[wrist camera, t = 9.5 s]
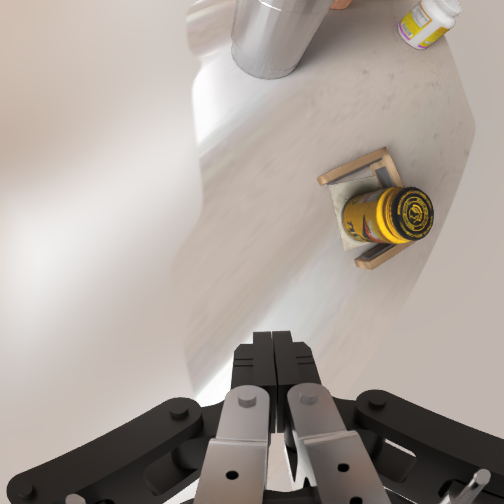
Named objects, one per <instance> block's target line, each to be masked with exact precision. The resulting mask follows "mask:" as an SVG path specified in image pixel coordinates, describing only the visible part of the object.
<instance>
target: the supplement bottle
mask: <svg viewBox="0 0 504 504" xmlns="http://www.w3.org/2000/svg"><path fill="white" fill-rule="evenodd" d="M461 12H462V9H461V7H460V5H459V4H458V2H457V1H456V0H421V1H420V2H419V3H418V4H417V5H416V6H415V7H414V8H413V9H412V10H411V11H410V12H409V13H408V14H407V15H406V16H405V17H404V18H403V19H402V20H401V21H400V22H399V24H398V31H399V34H400V35H401V37H402V38H403V39H404V40H405V41H406V42H407V43H408V44H409V45H411V46H412V47H414V48H416V49H420V50H422V49H425V48H427V47H428V46H430V45H431V44H432V43H433V42H435V41H436V40H437V39H438V38H440V37H441V36H442V35H443V34H445V33H446V32H447V31H449V30H450V29H451V28H452V27H454V25H455V17H454V16H458V15H459V14H460V13H461Z"/></svg>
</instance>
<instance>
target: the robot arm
mask: <svg viewBox="0 0 504 504" xmlns="http://www.w3.org/2000/svg"><path fill="white" fill-rule="evenodd" d="M333 2H334V0H237V2H236V8H235V14H234V20H233V27H232V33H231V37H232V39H233V43H232V56H233V59H234V61H235V62H236V64H237V65H238V66H239V67H240V68H241V69H242V70H243V71H245V72H246V73H248V74H250V75H252V76H255V77H258V78H264V79H276V78H281V77H284V76H286V75H288V74H289V73H291V72H292V71H293V70H294V69H295V67H296V66H297V64H298V62H299V60H300V59H301V57H302V55H303V53H304V52H305V50H306V48H307V46H308V45H309V43H310V41H311V39H312V38H313V36H314V34H315V33H316V31H317V29H318V27H319V26H320V24H321V22H322V21H323V19H324V17H325V15H326V14H327V12H328V10H329V9H330V7H331V5H332V4H333ZM276 425H277V433H284V439H285V440H284V452H285V457H286V462H287V466H288V471H289V476H290V480H291V485H292V491H291V492H279V491H272V490H266V489H267V473H268V456H269V446H270V444H271V433H275V426H276ZM386 439H388V440H389V441H391V442H393V443H395V444H398V445H399V446H402V447H404V448H405V449H407V450H410V451H412V452H413V453H414V454H415V456H416V457H414V456H412V455H410V454H408V453H406V452H404V451H402V450H400V449H398V448H396V447H394V446H392V445H390V444H388V443H386V442H385V440H386ZM199 477H200V479H199V483H198V487H197V490H196V494H195V498H193V499H190V500H187V501H185V502H183V503H180V504H415V503H413V502H416V503H417V504H504V439H501V438H498V437H495V436H493V435H490V434H488V433H485V432H482V431H479V430H477V429H474V428H472V427H469V426H466V425H464V424H461V423H459V422H456V421H454V420H451V419H449V418H446V417H444V416H442V415H439V414H436V413H434V412H432V411H430V410H427V409H425V408H423V407H420V406H418V405H416V404H413V403H411V402H409V401H407V400H404V399H402V398H400V397H397V396H395V395H393V394H391V393H389V392H386V391H383V390H368V391H365V392H363V393H361V394H360V395H359V396H358V397H357V399H356V401H354V400H344V399H339V398H335V397H333V396H331V394H330V392H329V390H328V389H327V388H325V387H324V386H322V384H321V380H320V377H319V374H318V371H317V367H316V364H315V361H314V358H313V355H312V351H311V348H310V347H309V346H307V345H306V344H305V343H304V342H293V341H292V337H291V332H290V331H272V337H271V332H253V344H240V345H239V346H238V347H237V348H236V350H235V351H234V360H233V370H232V380H231V390H230V391H229V392H228V393H227V395H226V397H225V400H223V401H222V402H220V403H218V404H215V405H211V406H206V407H200V405H199V404H198V403H197V402H196V401H194V400H192V399H189V398H182V397H179V398H172V399H169V400H167V401H165V402H163V403H161V404H160V405H158V406H156V407H154V408H153V409H151V410H149V411H147V412H146V413H144V414H142V415H140V416H139V417H137V418H135V419H133V420H131V421H129V422H128V423H125V424H124V425H122V426H120V427H118V428H116V429H114V430H112V431H110V432H109V433H107V434H105V435H103V436H101V437H99V438H97V439H95V440H93V441H91V442H89V443H87V444H85V445H83V446H81V447H78V448H76V449H74V450H72V451H70V452H68V453H66V454H64V455H62V456H59V457H57V458H55V459H53V460H50V461H48V462H46V463H44V464H41V465H39V466H37V467H34V468H32V469H30V470H27V471H25V472H22V473H20V474H18V475H16V476H14V477H13V478H12V479H11V480H10V481H9V483H8V485H7V497H8V499H9V501H10V502H11V504H163V503H164V502H166V501H167V500H169V499H170V498H172V497H173V496H175V495H176V494H177V493H179V492H180V491H182V490H183V489H185V488H186V487H187V486H189V485H190V484H191V483H193V482H194V481H195V480H197V479H198V478H199ZM383 486H385V487H386V488H388V489H390V490H392V491H394V492H392V491H390V490H388V489H384V487H383ZM395 492H396V493H398V494H400V495H401V496H400V495H398V494H396V493H395ZM402 496H403V497H402ZM404 497H405V498H408V499H409V500H411V501H413V502H411V501H409V500H407V499H405V498H404Z"/></svg>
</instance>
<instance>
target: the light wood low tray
mask: <svg viewBox="0 0 504 504" xmlns="http://www.w3.org/2000/svg"><path fill="white" fill-rule="evenodd" d="M369 165H370V168H371V170H372V172H373V174H374V176H376V178H377V180H378V184H379V187H380V189H381V190H383V189H386V188H389V187H402V188H404V186H403V183H402V181H401V179H400V176H399V174H398V172H397V170H396V168H395V165H394V163H393V161H392V159H391V157H390V155H389V153H388V151H387V149H386V147H383V148H381V149H379V150H376V151H374V152H372V153H370V154H367V155H365V156H363V157H361V158H358V159H356V160H354V161H352V162H349V163H347V164H345V165H343V166H341V167H338V168H336V169H334V170H332V171H330V172H328V173H326V174H324V175H322V176H320V177H318V178H317V180H318V182H319V184H320V185H322V184H325V183H327V184H331V183H333V182H335V181H338V180H340V179H342V178H344V177H346V176H348V175H350V174H352V173H354V172H357V171H359V170H361V169H363V168H365V167H367V166H369ZM414 242H416V241H412V240H410V241H408V242H406V243H400V244H392V243H382V244H380V245H378V246H377V247H375V248H373V249H372V250H370V251H368V252H367V253H365V254H363V255H362V256H360V257H358V258H357V259H355V260H354V261H355V263H356V266H357V267H360V268H365V269H370V270H373V269H374V268H376V267H377V266H379V265H381V264H382V263H384V262H385V261H387V260H388V259H390V258H392V257H393V256H395V255H396V254H398V253H399V252H401V251H402V250H404V249H405V248H407V247H408V246H410V245H411V244H413V243H414Z"/></svg>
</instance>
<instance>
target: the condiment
mask: <svg viewBox="0 0 504 504" xmlns="http://www.w3.org/2000/svg"><path fill="white" fill-rule="evenodd" d="M329 189H330V193H331V197H332V200H333V204H334V208H335V212H336V217H337V221H338V225H339V229H340V234H341V238H342V242H343V246H344V250H345V251H347V250H350V249H353V248H356V247H359V246H363V245H366V244H369V243H392V244H400V243H406V242H408V241H410V240H412V241H417V240H420V239H422V238H424V237H425V236H426V235H427V234H428V233H429V231H430V229H431V227H432V225H433V219H434V211H433V206H432V203H431V201H430V198H429V197H428V196H427V195H426V194H425V193H424V192H423V191H421V190H420V189H418V188H416V187H407V188H402V187H389V188H386V189H383V190H380V189H379V184H378V180H377V178H376V176H371V177H366V178H362V179H357V180H352V181H348V182H343V183H338V184H334V185H329ZM347 196H348V198H347V201H346V202H345V200H346V197H347Z"/></svg>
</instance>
